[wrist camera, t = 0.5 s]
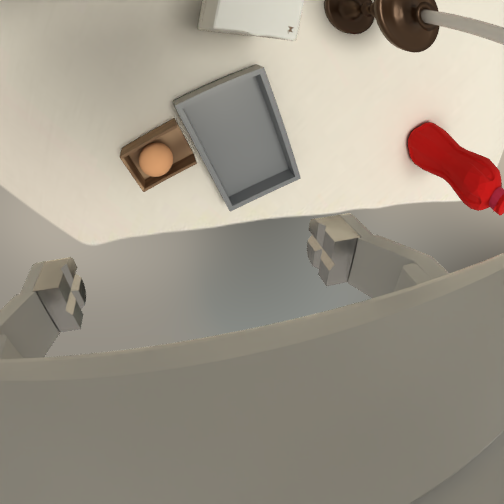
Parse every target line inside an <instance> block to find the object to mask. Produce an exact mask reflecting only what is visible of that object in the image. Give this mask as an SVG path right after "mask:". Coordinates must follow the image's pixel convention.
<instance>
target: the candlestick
mask: <svg viewBox="0 0 504 504" xmlns="http://www.w3.org/2000/svg"><path fill="white" fill-rule="evenodd" d="M324 9H325V13H326V16H327V18H328V19H329V21H330V23H331V24H332V25H333V26H334V27H336V28H337V29H338V30H340V31H342V32H345V33H350V34H359V33H362V32H364V31H366V30H367V29H368V28H369V27H370V26H371V25H372V23H373V20H374V17H375V18H376V20H377V24H378V26H379V28H380V30H381V32H382V33H383V35H384V36H385V37H386V39H387V40H388V41H389V42H390V43H391V44H393V45H394V46H396V47H397V48H400V49H402V50H405V51H409V52H421V51H424V50H426V49H427V48H429V47H430V46H431V45H432V44H433V42H434V41H435V39H436V37H437V34H438V31H439V26H443V27H447V28H451V29H455V30H459V31H463V32H466V33H470V34H473V35H476V36H480V37H483V38H486V39H489V40H492V41H495V42H498V43H500V44H503V45H504V28H503V27H500V26H497V25H493V24H490V23H486V22H483V21H479V20H475V19H472V18H467V17H463V16H459V15H454V14H449V13H444V12H438V8H437V5H436V2H435V0H374V2H373V3H372V1H371V0H325V2H324Z"/></svg>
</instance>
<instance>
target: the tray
mask: <svg viewBox="0 0 504 504" xmlns="http://www.w3.org/2000/svg"><path fill="white" fill-rule="evenodd" d="M173 102H174V106H175V108H176V110H177V112H178V114H179V116H180V118H181V119H182V121H183V123H184V125H185V127H186V129H187V131H188V133H189V135H190V137H191V138H192V140H193V142H194V144H195V146H196V148H197V150H198V152H199V154H200V156H201V157H202V159H203V161H204V163H205V165H206V167H207V169H208V171H209V173H210V175H211V176H212V178H213V180H214V182H215V184H216V186H217V188H218V190H219V192H220V194H221V195H222V197H223V199H224V201H225V203H226V205H227V207H228V209H229V211H232V210H234V209H236V208H238V207H241V206H243V205H245V204H247V203H249V202H251V201H253V200H255V199H257V198H259V197H262V196H264V195H266V194H268V193H270V192H272V191H274V190H276V189H279V188H281V187H283V186H285V185H287V184H289V183H292V182H294V181H296V180H298V179H300V174H299V171H298V168H297V164H296V161H295V158H294V155H293V152H292V148H291V145H290V142H289V139H288V136H287V133H286V130H285V127H284V124H283V121H282V118H281V115H280V112H279V109H278V106H277V103H276V100H275V97H274V94H273V92H272V89H271V86H270V83H269V80H268V78H267V75H266V72H265V69H264V67H262V66H259V65H253V66H250V67H248V68H245V69H243V70H240V71H237V72H235V73H232V74H230V75H228V76H225V77H223V78H220V79H218V80H216V81H214V82H211V83H209V84H207V85H205V86H202V87H200V88H198V89H196V90H194V91H192V92H190V93H188V94H186V95H183V96H181V97H179V98H177V99H175V100H173Z"/></svg>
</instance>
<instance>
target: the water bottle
mask: <svg viewBox="0 0 504 504" xmlns="http://www.w3.org/2000/svg"><path fill="white" fill-rule="evenodd" d="M408 148H409V152H410V154H409V155H410V157H411V159H412V161H413V162H414V164H416V165H417V166H419V167H420V168H422V169H423V170H425V171H428V172H430V173H432V174H434V175H437V176H439V177H441V178H443V179H444V180H445V181H447V182H448V183H449V184H450V186H451V187H452V188H453V190H454V191H455V192H456V194H457V195H458V196H459V198H460V199H461V200H462V201H463V203H464V204H466V205H467V206H468V207H470V208H471V209H474V210H478V211H479V210H483V209H486V208H488V207H491V208H492V209H493V210H494V211H495V212H496V213H497V214H499V215H502V214H503V213H504V189H503V188H502V183H501V176H500V172H499V170H498V169H497V167H496V166H495V165H494V164H493V163H492V162H491V161H490V159H488V158H486V157H483V156H481V155H478V154H476V153H473V152H470V151H468V150H466V149H464V148H462V147H461V146H459V145H458V144H457V142H456V141H455V140H454V139H453V138H452V137H451V136H450V135H449V134H448V133H447V132H446V131H445V130H443V129H442V128H440V127H439V126H437V125H436V124H434V123H431V122H428V123H424V124H422V125H421V126H420V127H417V128H415V129H414V130H413V131H412V132H411V134H410V136H409V138H408Z"/></svg>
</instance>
